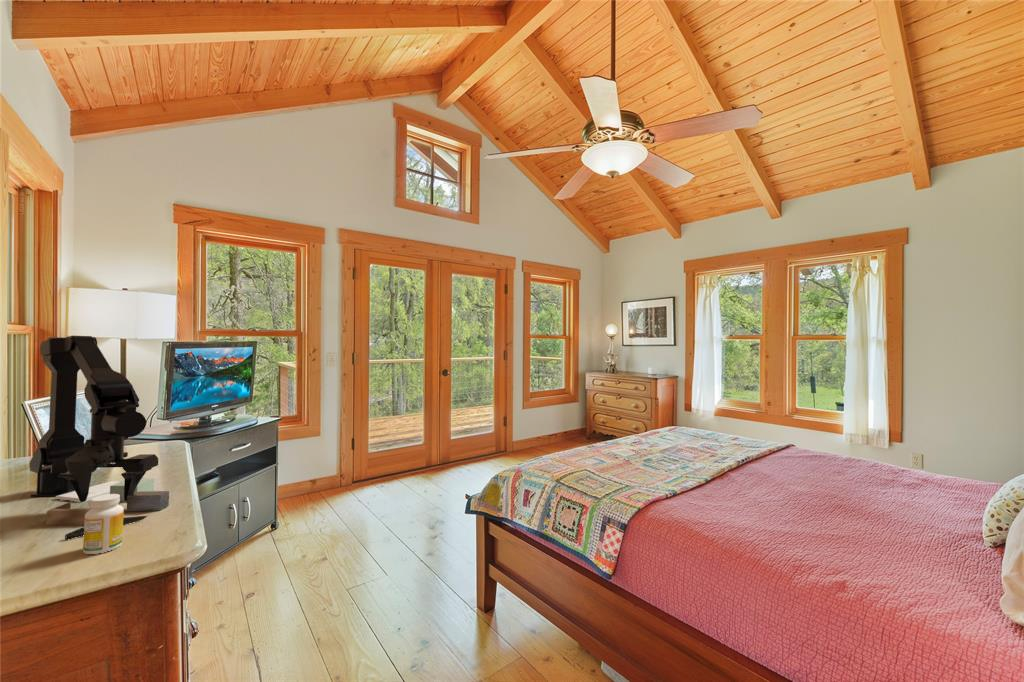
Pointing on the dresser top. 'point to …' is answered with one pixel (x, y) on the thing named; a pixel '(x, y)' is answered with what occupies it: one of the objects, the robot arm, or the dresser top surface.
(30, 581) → the dresser top surface
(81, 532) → the folding knife
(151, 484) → the sage block
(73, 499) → the external hard drive
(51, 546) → the dresser top surface
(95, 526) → the supplement bottle
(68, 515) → the frame
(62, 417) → the robot arm
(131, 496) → the dark gray rectangular block
